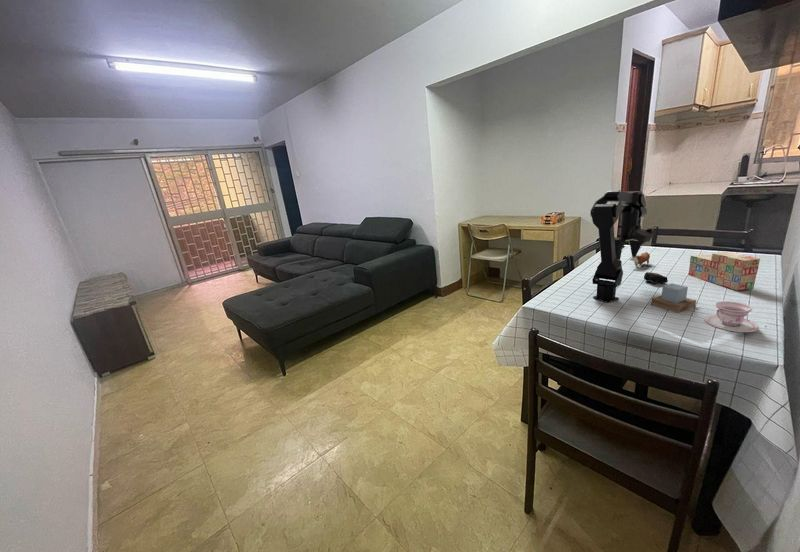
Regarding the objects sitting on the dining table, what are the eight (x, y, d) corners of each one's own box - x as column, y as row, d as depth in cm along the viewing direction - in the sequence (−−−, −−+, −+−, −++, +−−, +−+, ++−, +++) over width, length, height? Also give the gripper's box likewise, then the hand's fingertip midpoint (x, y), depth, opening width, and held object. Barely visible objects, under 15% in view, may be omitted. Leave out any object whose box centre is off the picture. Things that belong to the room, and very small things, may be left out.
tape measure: (650, 283, 134) (653, 275, 133) (639, 279, 141) (641, 271, 140) (666, 285, 134) (669, 277, 133) (653, 280, 141) (656, 272, 140)
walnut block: (677, 314, 110) (679, 306, 109) (650, 305, 118) (651, 298, 118) (694, 308, 113) (696, 300, 112) (667, 300, 121) (668, 293, 120)
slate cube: (676, 303, 112) (678, 289, 110) (661, 298, 116) (662, 286, 115) (685, 299, 113) (687, 286, 112) (670, 295, 118) (672, 283, 116)
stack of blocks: (687, 275, 141) (691, 248, 138) (701, 273, 141) (705, 247, 138) (738, 290, 121) (744, 260, 117) (754, 288, 121) (760, 257, 117)
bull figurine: (626, 270, 157) (627, 254, 155) (642, 264, 162) (644, 249, 160) (635, 271, 153) (637, 255, 151) (652, 266, 158) (654, 250, 156)
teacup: (729, 314, 105) (733, 297, 103) (771, 330, 94) (775, 311, 92) (694, 318, 105) (696, 301, 104) (731, 335, 94) (735, 316, 92)
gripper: (632, 227, 120) (628, 267, 124) (666, 220, 125) (661, 258, 129) (605, 225, 130) (602, 261, 134) (638, 218, 135) (634, 253, 140)
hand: (626, 258), depth 134 cm, fingers open, 9 cm apart
